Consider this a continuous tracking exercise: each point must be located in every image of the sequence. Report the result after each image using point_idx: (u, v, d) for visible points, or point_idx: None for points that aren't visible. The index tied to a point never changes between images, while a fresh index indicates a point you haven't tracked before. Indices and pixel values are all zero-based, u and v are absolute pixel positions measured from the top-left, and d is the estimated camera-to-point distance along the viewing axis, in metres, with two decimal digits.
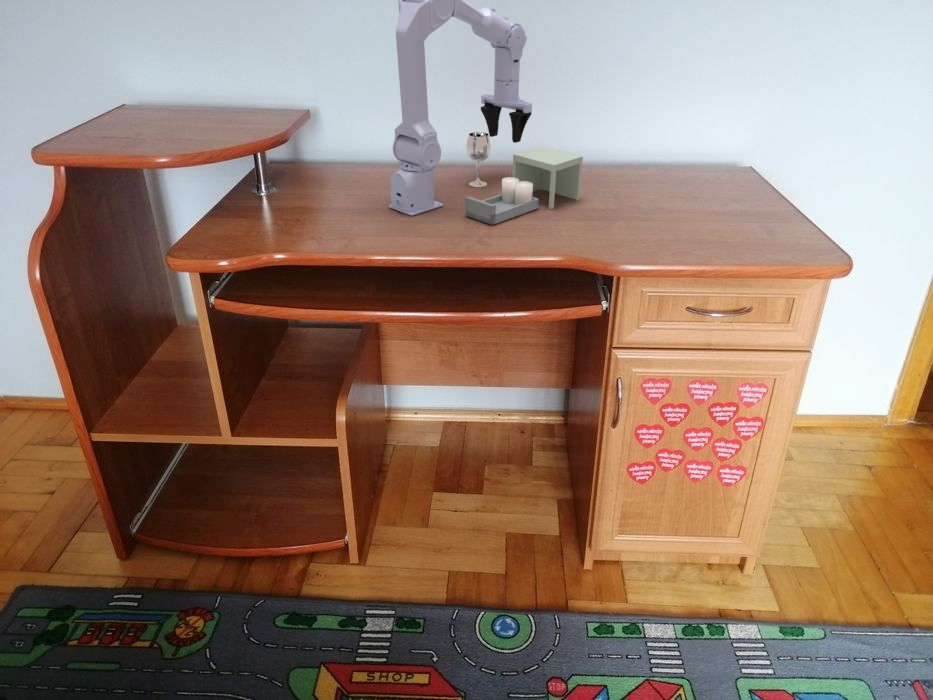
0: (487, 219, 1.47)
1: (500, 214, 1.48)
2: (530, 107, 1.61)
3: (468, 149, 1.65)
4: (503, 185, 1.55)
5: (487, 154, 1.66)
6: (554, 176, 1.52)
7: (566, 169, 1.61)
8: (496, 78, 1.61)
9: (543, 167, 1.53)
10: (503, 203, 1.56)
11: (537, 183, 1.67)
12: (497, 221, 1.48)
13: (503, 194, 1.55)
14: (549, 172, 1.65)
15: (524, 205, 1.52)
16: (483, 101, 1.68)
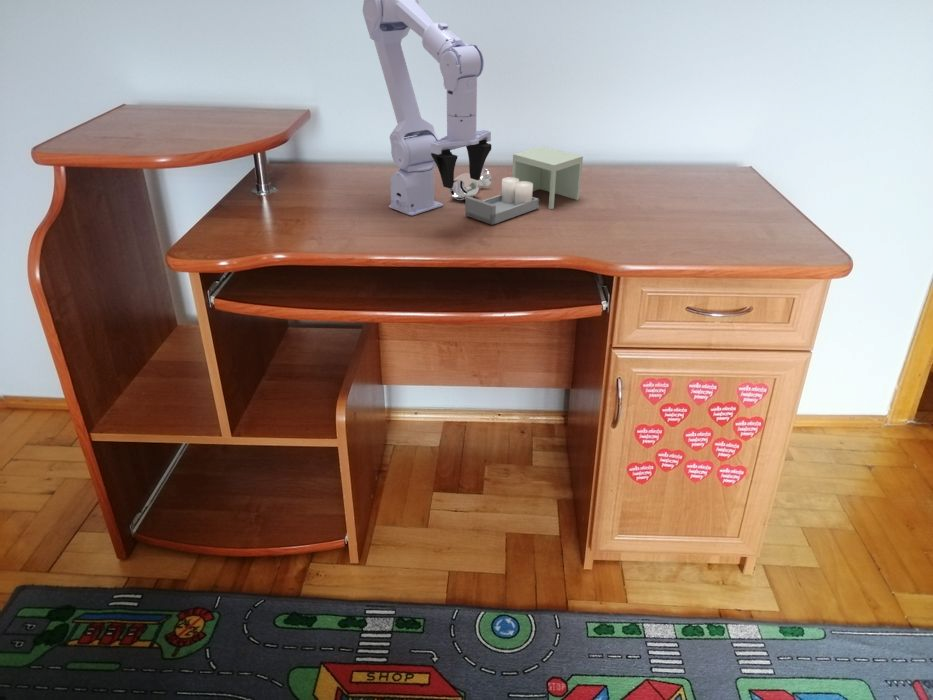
0: (487, 219, 1.47)
1: (500, 214, 1.48)
2: (435, 148, 1.33)
3: None
4: (503, 185, 1.55)
5: None
6: (554, 176, 1.52)
7: (566, 169, 1.61)
8: None
9: (543, 167, 1.53)
10: (503, 203, 1.56)
11: (537, 183, 1.67)
12: (497, 221, 1.48)
13: (503, 194, 1.55)
14: (549, 172, 1.65)
15: (524, 205, 1.52)
16: None
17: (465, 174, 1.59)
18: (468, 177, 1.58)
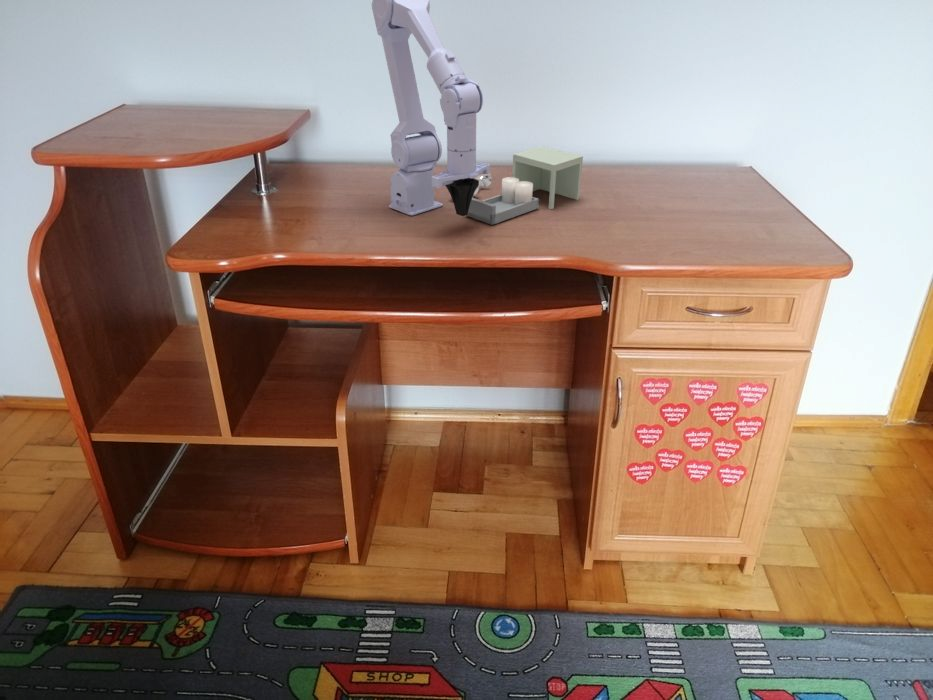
0: (487, 219, 1.47)
1: (500, 214, 1.48)
2: (436, 182, 1.36)
3: None
4: (503, 185, 1.55)
5: None
6: (554, 176, 1.52)
7: (566, 169, 1.61)
8: None
9: (543, 167, 1.53)
10: (503, 203, 1.56)
11: (537, 183, 1.67)
12: (497, 221, 1.48)
13: (503, 194, 1.55)
14: (549, 172, 1.65)
15: (524, 205, 1.52)
16: None
17: None
18: None
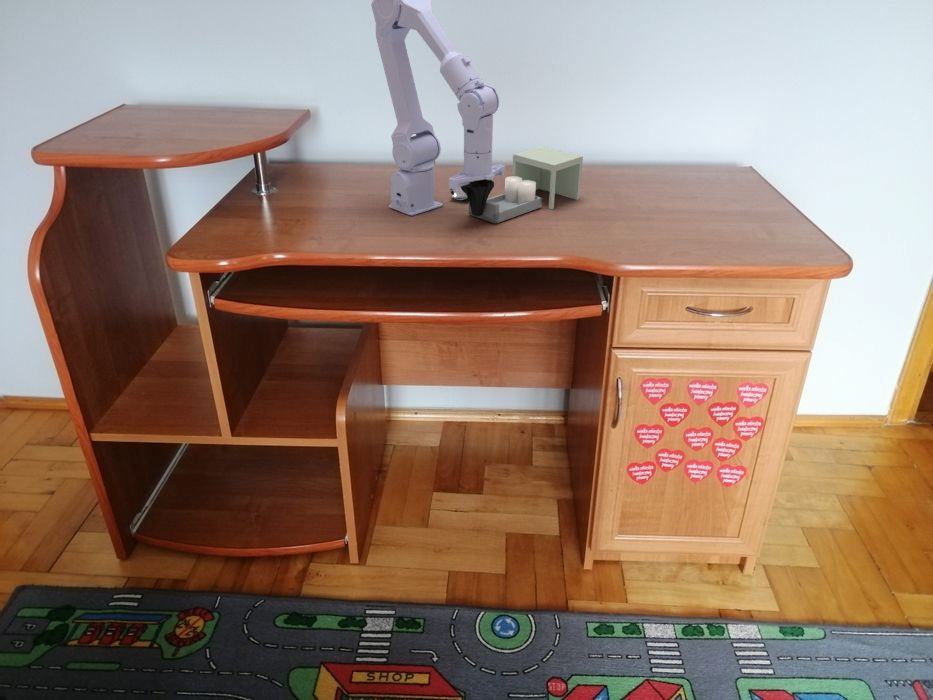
0: (490, 218, 1.48)
1: (503, 213, 1.48)
2: (453, 183, 1.40)
3: None
4: (506, 184, 1.55)
5: None
6: (554, 176, 1.52)
7: (566, 169, 1.61)
8: None
9: (543, 167, 1.53)
10: (506, 202, 1.56)
11: (537, 183, 1.67)
12: (500, 220, 1.48)
13: (506, 193, 1.56)
14: (549, 172, 1.65)
15: (527, 204, 1.53)
16: None
17: None
18: None
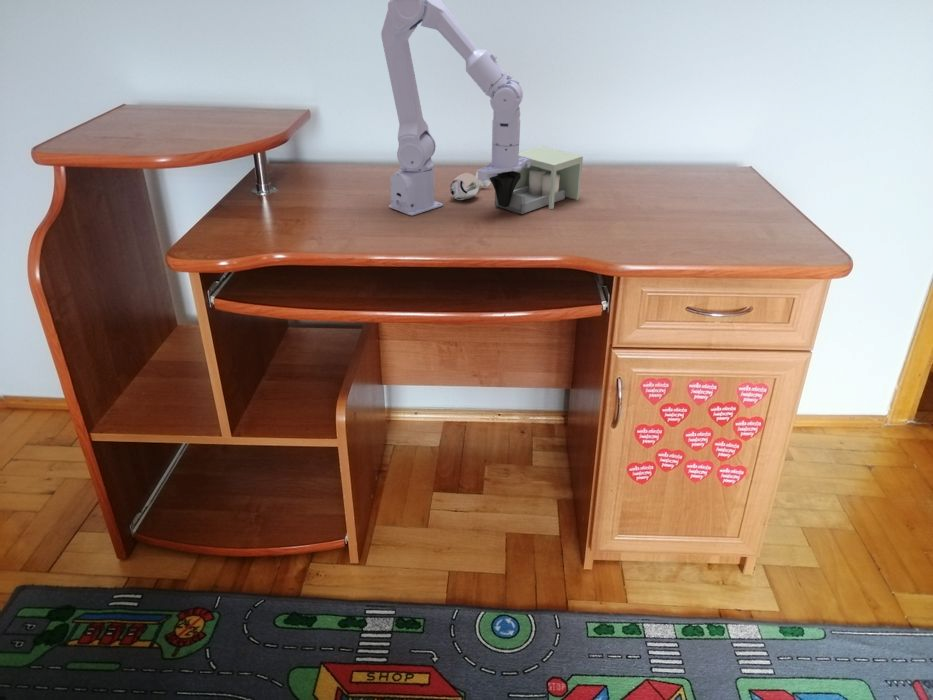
0: (516, 209, 1.53)
1: (529, 204, 1.53)
2: (482, 175, 1.44)
3: None
4: (531, 176, 1.60)
5: None
6: (554, 176, 1.52)
7: (566, 169, 1.61)
8: None
9: (543, 167, 1.53)
10: (530, 194, 1.61)
11: None
12: (526, 211, 1.53)
13: (530, 185, 1.61)
14: (549, 172, 1.65)
15: None
16: None
17: (465, 174, 1.59)
18: (468, 177, 1.58)
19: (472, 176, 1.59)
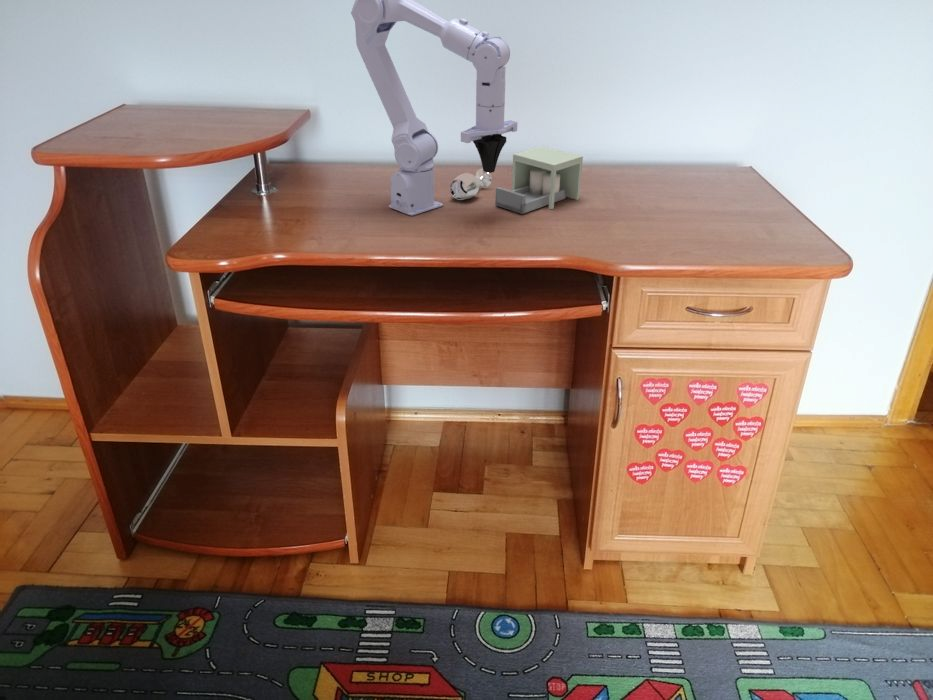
0: (517, 208, 1.53)
1: (530, 204, 1.53)
2: (465, 137, 1.38)
3: None
4: (531, 176, 1.60)
5: None
6: (554, 176, 1.52)
7: (566, 169, 1.61)
8: None
9: (543, 167, 1.53)
10: (531, 194, 1.61)
11: None
12: (527, 210, 1.53)
13: (531, 185, 1.61)
14: None
15: None
16: None
17: (465, 174, 1.59)
18: (468, 177, 1.58)
19: (472, 176, 1.59)
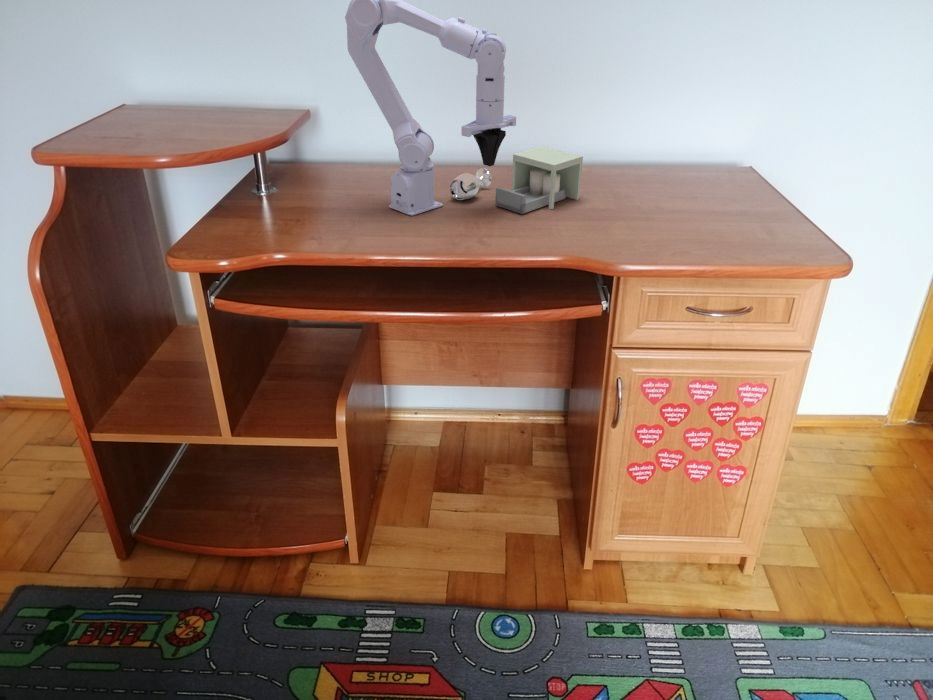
0: (517, 208, 1.53)
1: (530, 204, 1.53)
2: (466, 131, 1.42)
3: None
4: (531, 176, 1.60)
5: None
6: (554, 176, 1.52)
7: (566, 169, 1.61)
8: None
9: (543, 167, 1.53)
10: (531, 194, 1.61)
11: None
12: (527, 210, 1.53)
13: (531, 185, 1.61)
14: None
15: None
16: None
17: (465, 174, 1.59)
18: (468, 177, 1.58)
19: (472, 176, 1.59)
